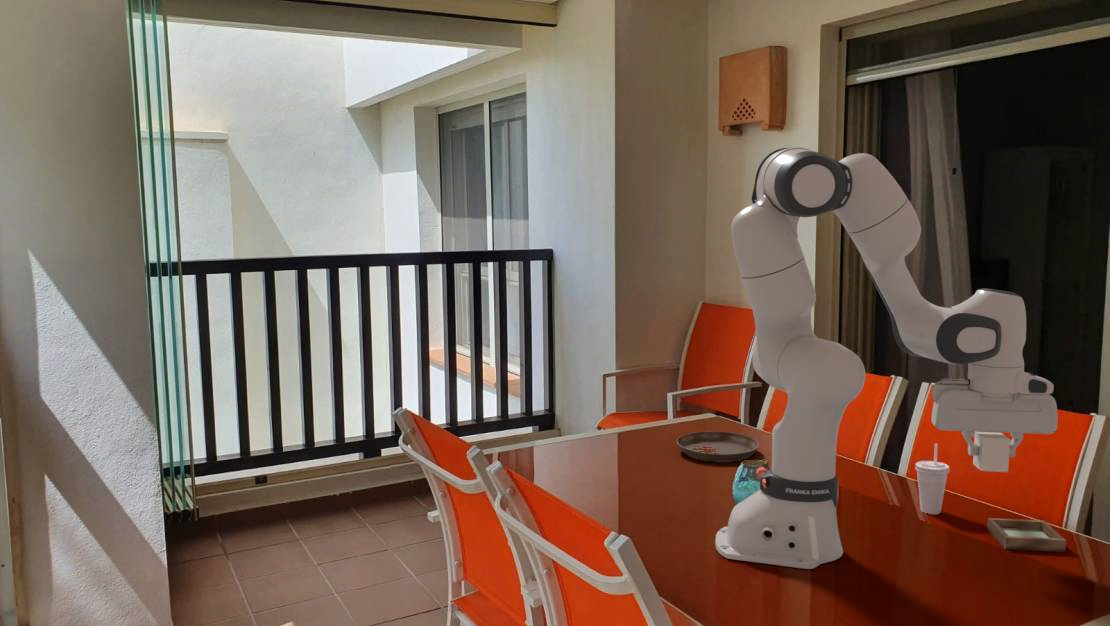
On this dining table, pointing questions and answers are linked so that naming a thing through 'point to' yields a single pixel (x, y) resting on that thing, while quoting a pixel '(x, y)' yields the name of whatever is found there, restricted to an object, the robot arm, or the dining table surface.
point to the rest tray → (1026, 535)
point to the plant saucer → (718, 446)
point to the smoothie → (931, 484)
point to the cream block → (992, 451)
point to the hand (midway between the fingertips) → (991, 455)
